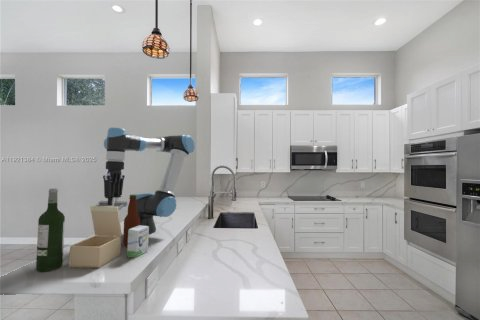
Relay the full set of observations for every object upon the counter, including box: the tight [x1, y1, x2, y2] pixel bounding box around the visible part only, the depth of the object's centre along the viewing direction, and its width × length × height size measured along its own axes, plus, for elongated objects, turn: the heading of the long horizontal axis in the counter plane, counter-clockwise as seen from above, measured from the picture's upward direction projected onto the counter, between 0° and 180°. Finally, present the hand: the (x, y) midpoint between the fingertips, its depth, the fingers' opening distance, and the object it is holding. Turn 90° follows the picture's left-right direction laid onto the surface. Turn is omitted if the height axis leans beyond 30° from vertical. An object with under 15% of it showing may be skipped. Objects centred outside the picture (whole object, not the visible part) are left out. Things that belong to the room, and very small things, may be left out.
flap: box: [89, 200, 128, 237], centre depth 105 cm, size 14×12×8 cm
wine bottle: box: [35, 188, 66, 272], centre depth 89 cm, size 8×8×30 cm
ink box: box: [126, 225, 150, 259], centre depth 104 cm, size 9×5×12 cm, turn 168°
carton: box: [68, 235, 122, 269], centre depth 96 cm, size 14×12×8 cm
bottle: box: [122, 194, 140, 248], centre depth 116 cm, size 7×7×25 cm
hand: (112, 212), depth 106 cm, fingers closed on flap, 2 cm apart
